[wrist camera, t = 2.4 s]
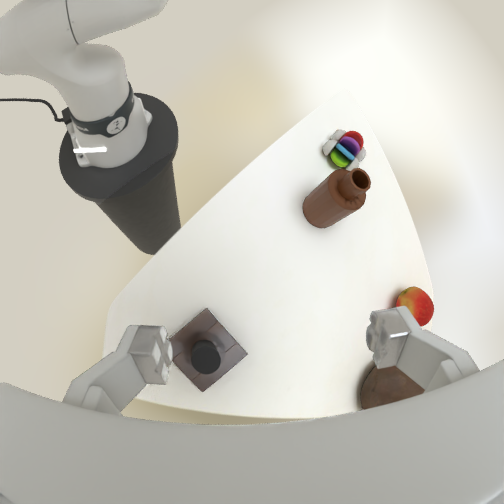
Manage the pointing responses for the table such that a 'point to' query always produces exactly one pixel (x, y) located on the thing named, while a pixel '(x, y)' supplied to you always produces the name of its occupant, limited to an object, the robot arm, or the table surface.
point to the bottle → (336, 197)
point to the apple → (417, 304)
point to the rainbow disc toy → (345, 149)
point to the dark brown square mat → (212, 331)
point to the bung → (205, 357)
